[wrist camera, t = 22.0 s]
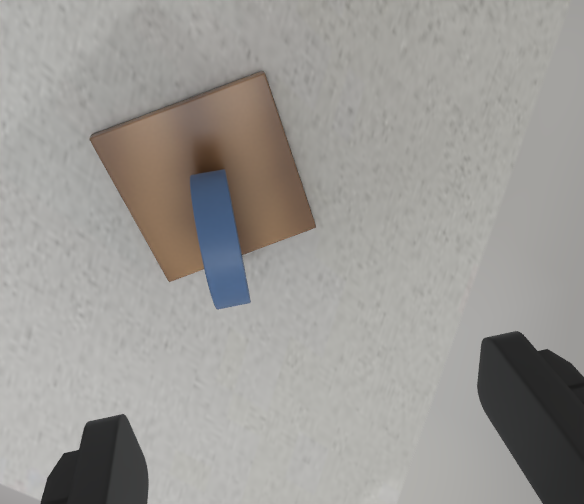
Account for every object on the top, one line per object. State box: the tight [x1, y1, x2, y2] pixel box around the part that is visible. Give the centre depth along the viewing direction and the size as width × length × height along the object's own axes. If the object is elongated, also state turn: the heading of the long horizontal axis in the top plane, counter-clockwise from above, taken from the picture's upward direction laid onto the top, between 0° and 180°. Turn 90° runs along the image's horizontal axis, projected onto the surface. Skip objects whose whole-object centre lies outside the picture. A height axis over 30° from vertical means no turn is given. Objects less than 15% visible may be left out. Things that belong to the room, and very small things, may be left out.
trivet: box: [90, 71, 316, 282], centre depth 33 cm, size 11×11×1 cm
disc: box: [190, 169, 251, 309], centre depth 30 cm, size 2×8×8 cm
